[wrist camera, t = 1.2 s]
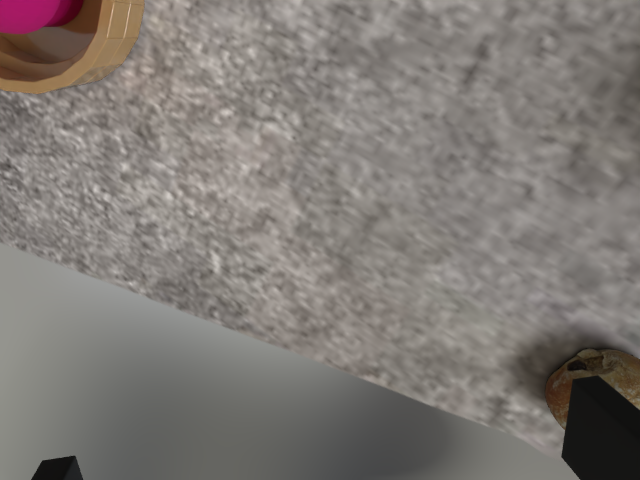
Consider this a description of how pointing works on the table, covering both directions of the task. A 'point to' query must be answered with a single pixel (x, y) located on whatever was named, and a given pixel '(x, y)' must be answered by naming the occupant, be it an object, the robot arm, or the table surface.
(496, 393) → the table surface
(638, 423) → the robot arm
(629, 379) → the bread roll
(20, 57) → the bowl
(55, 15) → the pepper mill
